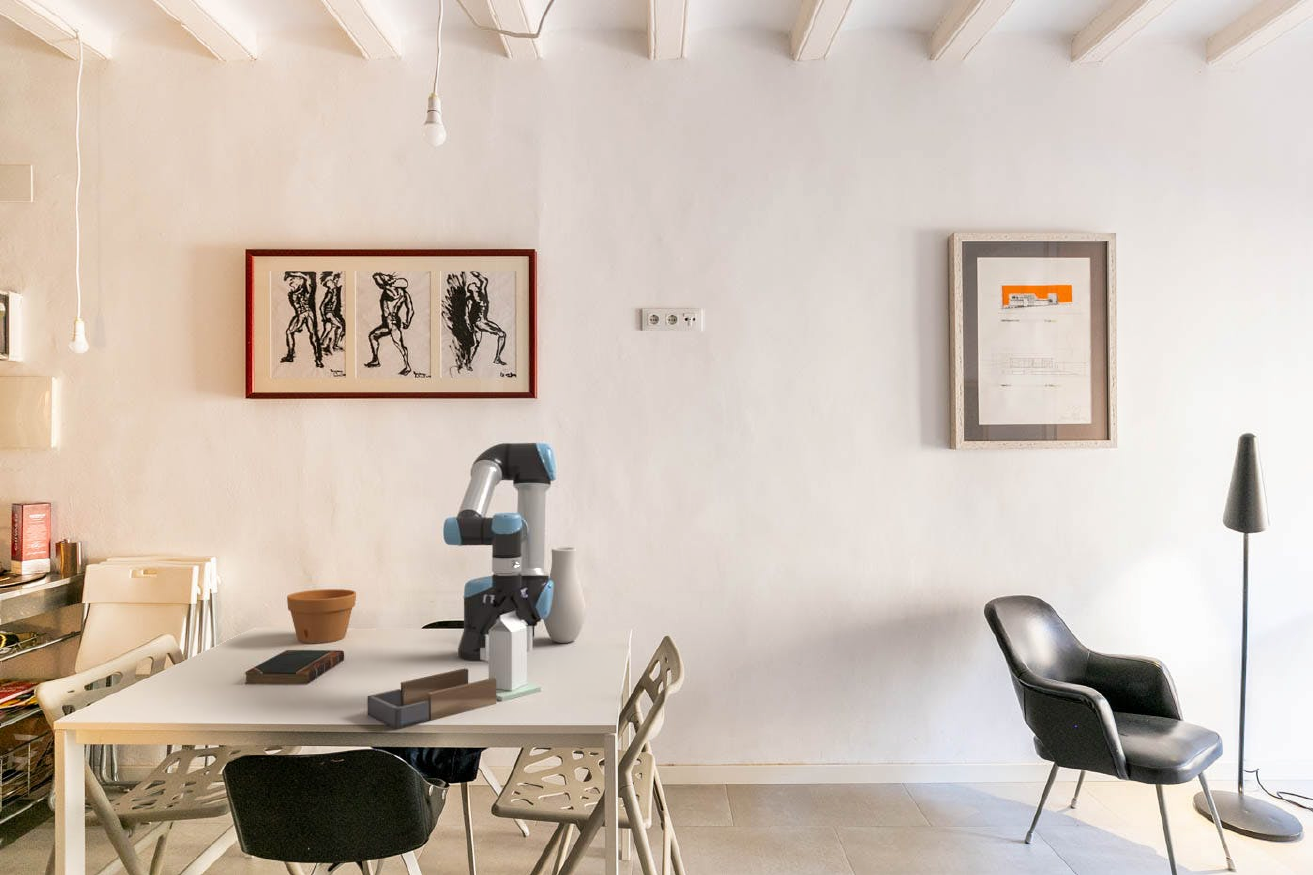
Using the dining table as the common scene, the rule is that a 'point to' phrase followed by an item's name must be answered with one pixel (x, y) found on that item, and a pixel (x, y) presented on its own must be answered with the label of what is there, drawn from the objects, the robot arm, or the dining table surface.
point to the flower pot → (321, 614)
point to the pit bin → (396, 710)
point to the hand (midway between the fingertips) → (506, 655)
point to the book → (294, 667)
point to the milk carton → (508, 652)
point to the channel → (449, 693)
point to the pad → (516, 692)
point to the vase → (565, 597)
